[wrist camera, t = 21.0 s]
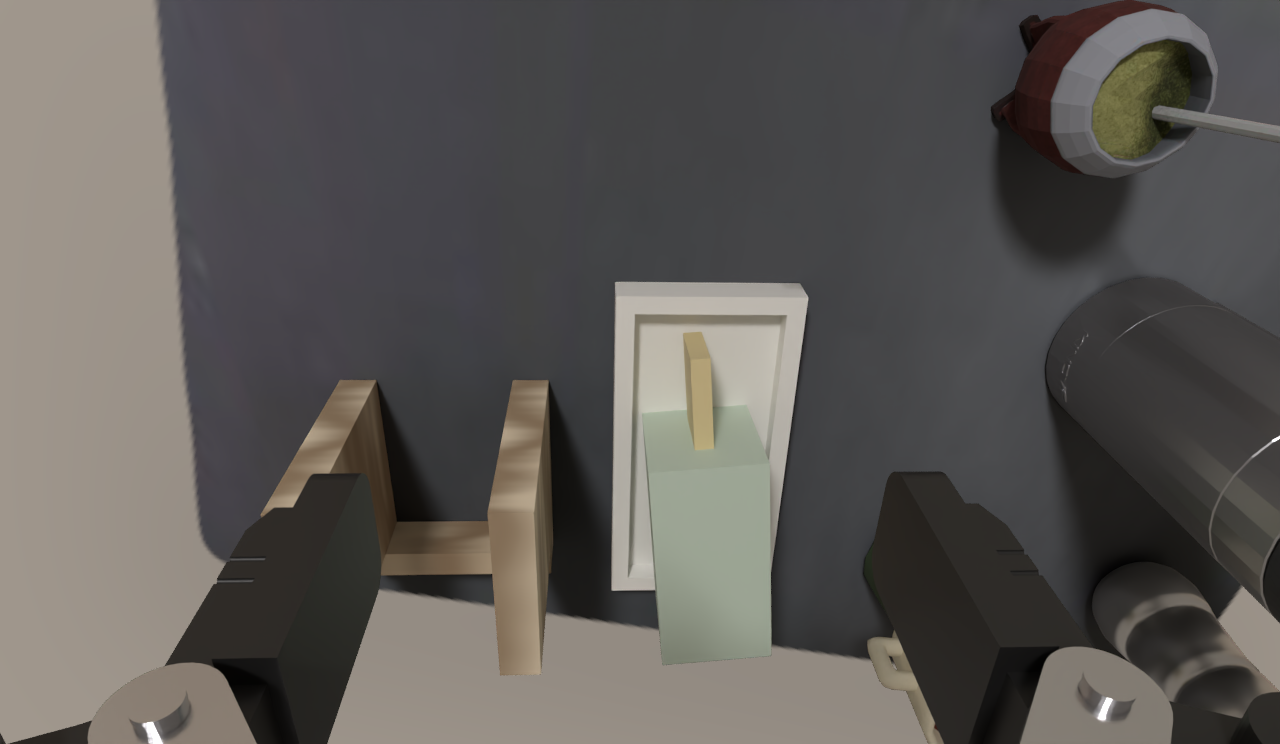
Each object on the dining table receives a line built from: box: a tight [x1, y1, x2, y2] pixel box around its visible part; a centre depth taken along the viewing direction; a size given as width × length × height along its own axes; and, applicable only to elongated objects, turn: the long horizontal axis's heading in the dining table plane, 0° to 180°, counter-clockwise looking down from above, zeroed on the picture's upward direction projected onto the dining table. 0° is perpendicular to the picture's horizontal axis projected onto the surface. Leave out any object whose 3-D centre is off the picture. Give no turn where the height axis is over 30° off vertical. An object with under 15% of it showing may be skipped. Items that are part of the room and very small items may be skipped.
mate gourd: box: [991, 0, 1280, 178], centre depth 32 cm, size 8×8×15 cm
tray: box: [611, 282, 808, 591], centre depth 47 cm, size 10×20×2 cm, turn 178°
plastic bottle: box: [1092, 561, 1280, 718], centre depth 46 cm, size 6×7×20 cm
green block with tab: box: [642, 332, 771, 665], centre depth 44 cm, size 6×17×7 cm, turn 4°
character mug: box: [864, 543, 944, 744], centre depth 47 cm, size 11×7×13 cm, turn 80°
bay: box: [261, 380, 553, 675], centre depth 42 cm, size 12×12×12 cm
